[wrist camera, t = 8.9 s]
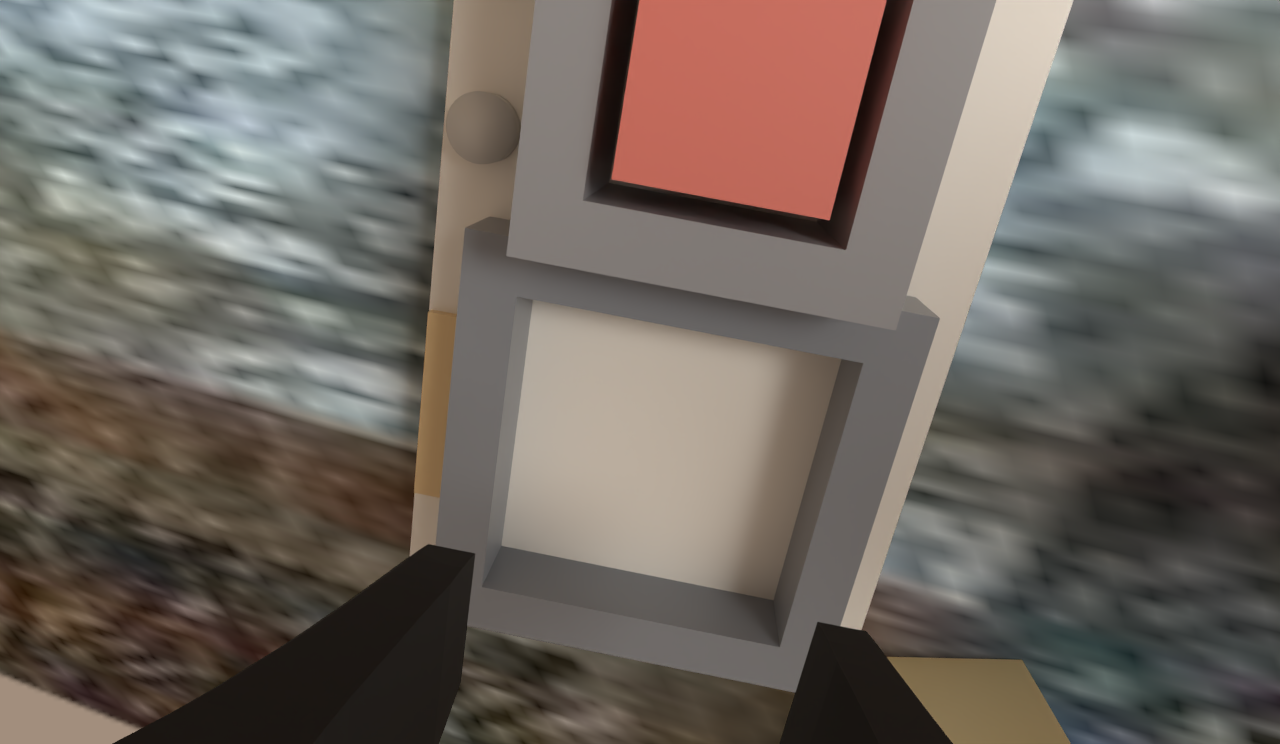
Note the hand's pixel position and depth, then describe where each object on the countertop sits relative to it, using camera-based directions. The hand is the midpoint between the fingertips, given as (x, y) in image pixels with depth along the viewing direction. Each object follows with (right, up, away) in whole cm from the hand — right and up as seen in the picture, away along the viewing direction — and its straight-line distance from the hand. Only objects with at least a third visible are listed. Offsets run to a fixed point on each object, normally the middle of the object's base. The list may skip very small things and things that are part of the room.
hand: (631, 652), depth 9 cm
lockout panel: (+1, +5, +5) cm, 8 cm away
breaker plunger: (+2, +8, +3) cm, 9 cm away
